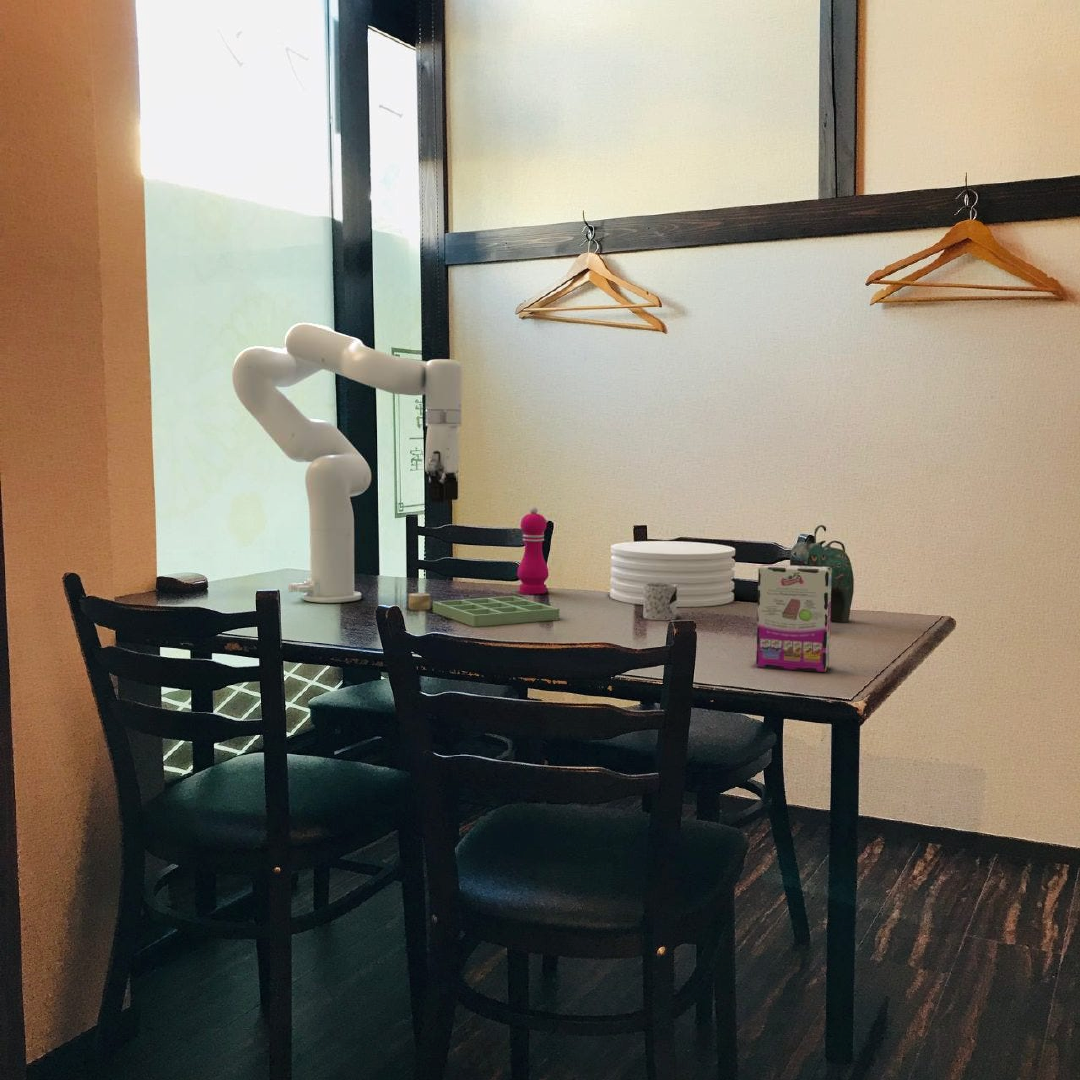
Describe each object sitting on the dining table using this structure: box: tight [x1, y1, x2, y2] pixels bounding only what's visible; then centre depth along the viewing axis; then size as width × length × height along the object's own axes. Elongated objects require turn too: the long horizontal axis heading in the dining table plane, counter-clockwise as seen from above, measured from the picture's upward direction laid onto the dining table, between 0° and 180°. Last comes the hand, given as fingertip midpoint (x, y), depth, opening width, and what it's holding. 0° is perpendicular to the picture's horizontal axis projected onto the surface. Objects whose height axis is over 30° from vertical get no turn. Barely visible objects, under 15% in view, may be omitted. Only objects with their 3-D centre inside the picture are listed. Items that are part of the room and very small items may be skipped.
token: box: [408, 592, 431, 611], centre depth 234 cm, size 4×4×3 cm
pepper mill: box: [517, 506, 550, 595], centre depth 258 cm, size 7×7×20 cm
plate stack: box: [609, 540, 736, 608], centre depth 253 cm, size 28×28×12 cm
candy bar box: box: [755, 564, 832, 673], centre depth 179 cm, size 11×5×16 cm, turn 69°
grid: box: [432, 595, 560, 628], centre depth 226 cm, size 19×19×2 cm
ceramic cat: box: [789, 524, 855, 623], centre depth 218 cm, size 20×6×20 cm, turn 137°
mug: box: [642, 583, 677, 621], centre depth 227 cm, size 10×7×7 cm, turn 177°
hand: (443, 500), depth 235 cm, fingers open, 9 cm apart
